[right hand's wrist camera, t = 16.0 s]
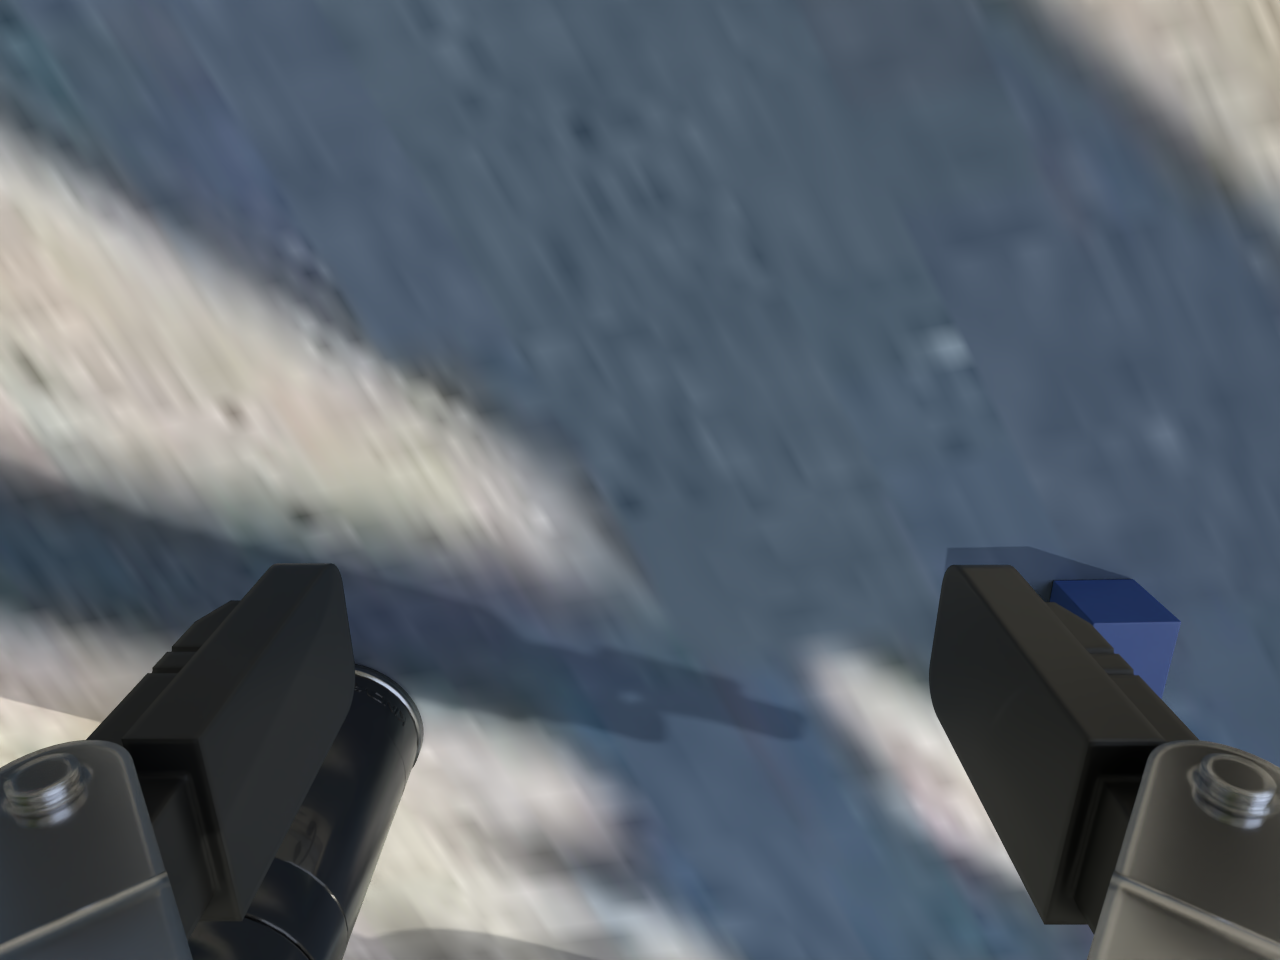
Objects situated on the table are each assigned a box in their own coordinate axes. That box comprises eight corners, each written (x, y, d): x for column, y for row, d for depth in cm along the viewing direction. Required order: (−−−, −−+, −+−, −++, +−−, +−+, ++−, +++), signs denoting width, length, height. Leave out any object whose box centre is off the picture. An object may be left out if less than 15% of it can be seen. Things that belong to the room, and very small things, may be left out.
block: (1133, 578, 48) (1181, 621, 44) (1117, 651, 50) (1161, 699, 46) (1053, 580, 48) (1093, 623, 44) (1039, 653, 50) (1077, 701, 46)
